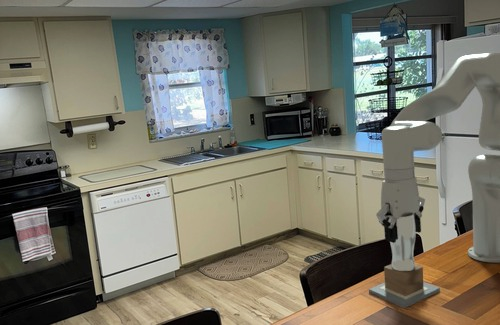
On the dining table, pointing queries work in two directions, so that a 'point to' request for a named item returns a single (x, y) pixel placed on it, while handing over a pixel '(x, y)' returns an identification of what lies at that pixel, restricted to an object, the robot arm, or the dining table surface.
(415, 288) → the walnut block
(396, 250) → the metal cup
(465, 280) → the dining table surface
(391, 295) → the board
